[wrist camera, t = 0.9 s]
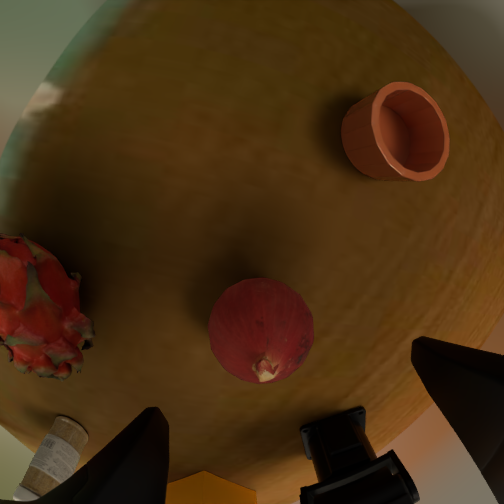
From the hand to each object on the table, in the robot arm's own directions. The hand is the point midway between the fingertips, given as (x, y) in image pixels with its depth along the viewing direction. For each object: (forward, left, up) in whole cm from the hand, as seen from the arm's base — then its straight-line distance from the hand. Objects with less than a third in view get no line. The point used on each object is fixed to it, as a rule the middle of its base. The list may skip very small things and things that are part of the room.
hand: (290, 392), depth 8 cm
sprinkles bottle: (-12, +25, -11) cm, 30 cm away
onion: (-1, +1, -11) cm, 11 cm away
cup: (+8, -10, -11) cm, 17 cm away
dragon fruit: (+4, +16, -11) cm, 19 cm away
